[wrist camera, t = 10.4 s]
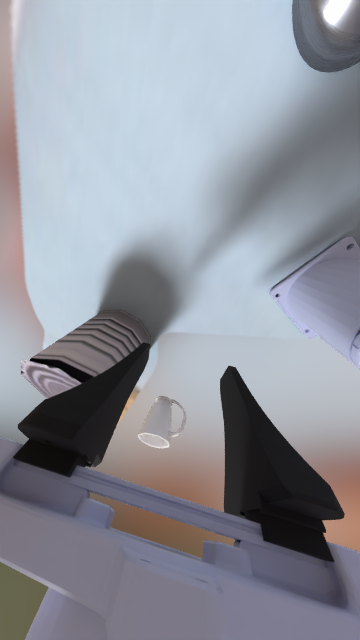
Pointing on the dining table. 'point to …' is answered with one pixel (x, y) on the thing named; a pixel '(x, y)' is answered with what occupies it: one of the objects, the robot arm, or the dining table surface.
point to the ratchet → (327, 33)
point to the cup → (159, 424)
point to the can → (85, 352)
